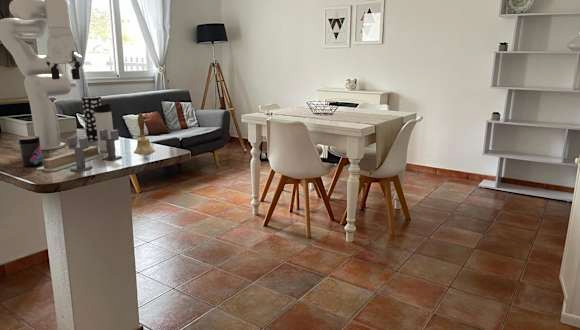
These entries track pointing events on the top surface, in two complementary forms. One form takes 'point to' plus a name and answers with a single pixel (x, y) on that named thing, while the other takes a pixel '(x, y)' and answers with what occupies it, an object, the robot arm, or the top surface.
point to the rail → (68, 158)
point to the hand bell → (143, 139)
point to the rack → (84, 145)
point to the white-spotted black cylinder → (90, 116)
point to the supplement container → (30, 151)
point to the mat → (71, 163)
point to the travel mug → (103, 124)
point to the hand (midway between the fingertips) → (66, 79)
